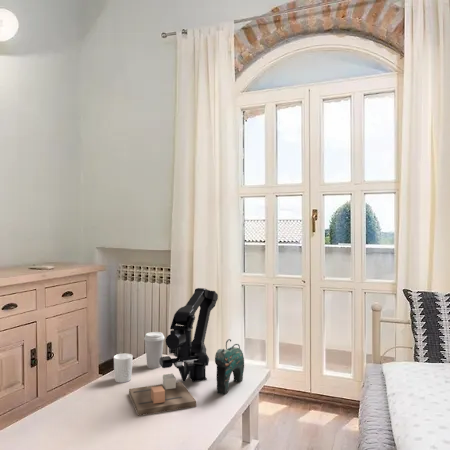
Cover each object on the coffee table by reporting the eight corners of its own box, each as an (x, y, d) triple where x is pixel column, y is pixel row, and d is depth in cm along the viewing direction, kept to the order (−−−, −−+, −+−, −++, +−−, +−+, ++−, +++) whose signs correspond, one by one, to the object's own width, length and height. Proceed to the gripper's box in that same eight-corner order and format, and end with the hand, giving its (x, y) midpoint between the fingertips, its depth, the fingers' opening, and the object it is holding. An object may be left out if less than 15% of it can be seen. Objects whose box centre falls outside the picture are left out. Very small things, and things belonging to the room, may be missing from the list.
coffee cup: (140, 369, 191) (140, 336, 190) (148, 362, 200) (148, 331, 200) (160, 370, 189) (161, 337, 189) (167, 363, 198) (167, 331, 198)
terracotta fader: (161, 396, 155) (161, 385, 155) (164, 402, 150) (165, 390, 150) (151, 398, 153) (151, 387, 153) (153, 403, 148) (154, 392, 148)
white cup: (122, 384, 172) (123, 360, 172) (109, 380, 176) (109, 357, 176) (136, 378, 179) (136, 355, 179) (123, 375, 183) (123, 352, 183)
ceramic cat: (224, 397, 160) (225, 345, 160) (210, 393, 163) (210, 342, 163) (247, 380, 178) (247, 333, 178) (233, 377, 181) (233, 331, 181)
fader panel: (181, 386, 170) (181, 381, 170) (196, 406, 152) (196, 400, 152) (129, 393, 162) (129, 388, 162) (138, 415, 144) (138, 409, 144)
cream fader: (172, 383, 167) (172, 373, 167) (175, 388, 163) (175, 377, 163) (162, 384, 166) (162, 374, 166) (165, 389, 161) (165, 379, 161)
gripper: (199, 335, 178) (199, 371, 178) (156, 339, 170) (156, 377, 170) (208, 342, 167) (208, 380, 167) (162, 346, 160) (162, 387, 160)
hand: (183, 381), depth 167 cm, fingers closed
